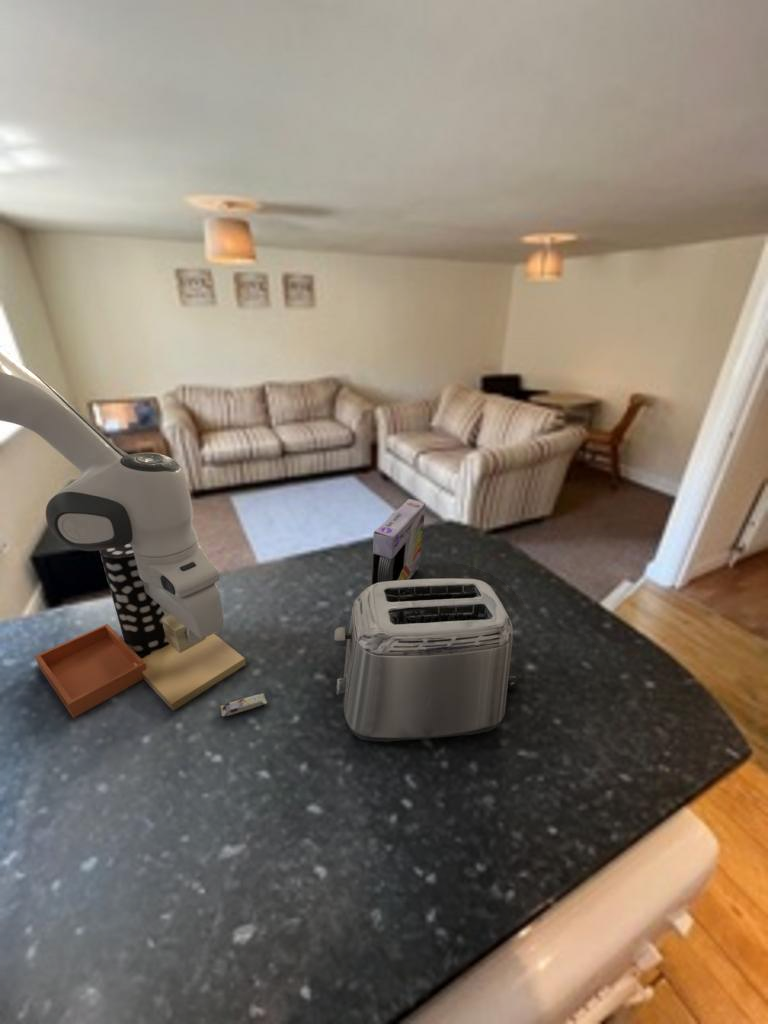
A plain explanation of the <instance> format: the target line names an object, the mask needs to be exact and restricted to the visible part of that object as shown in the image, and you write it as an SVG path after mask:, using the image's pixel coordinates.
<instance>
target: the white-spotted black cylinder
mask: <svg viewBox="0 0 768 1024" xmlns="http://www.w3.org/2000/svg"><path fill="white" fill-rule="evenodd" d="M99 554H100V558H101V561H102V566H103V568H104V573H105V576H106V580H107V583H108V584H107V585H108V587H109V591H110V593H111V598H112V601H113V606H114V609H115V614H116V615H117V620H118V624H119V628H120V631H121V635H122V639H123V640H124V641H125V643H126V644H127V645H128V646H129V647H130V648H131V649H132V650H133V651H134V652H135V653H136V654H137V655H138V656H139V657H140V656H141V657H143V656H144V657H146V656H148V655H150V654H152V653H154V652H156V651H157V650H159V649H161V648H163V647H165V646H167V645H169V643H168V642H167V641H166V636H165V632H164V628H163V623H162V619H163V618H165V617H166V616H165V614H164V612H163V610H162V608H161V606H160V605H159V604H158V603H157V602H156V601H155V600H153V599H152V598H151V597H150V596H149V595H147V594H146V592H145V590H144V585H143V580H142V579H141V578H140V577H139V573H138V569H137V565H136V561H135V556H134V552H133V548H132V546H131V545H130V544H127V545H124V546H121V547H116V548H111V549H105V550H99Z"/></svg>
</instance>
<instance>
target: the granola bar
mask: <svg viewBox="0 0 768 1024" xmlns="http://www.w3.org/2000/svg"><path fill="white" fill-rule="evenodd" d="M266 704H268V701H267V699H266V696H265V693H264V692H263V693H260V694H259V693H257V694H255V695H251V696H247V697H244V698H240V699H238V700H235V701H231V702H228V703H225V704H222V705H220V706H219V707H220V711H221V717H228V716H229V717H230V716H232V715H235V714H239V713H242V712H246V711H249V710H252V709H255V708H258V707H261V706H262V705H266Z"/></svg>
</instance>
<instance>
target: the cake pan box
mask: <svg viewBox="0 0 768 1024" xmlns="http://www.w3.org/2000/svg"><path fill="white" fill-rule="evenodd" d="M426 505H427V504H426V502H422V501H419V500H414V499H411V498H408V499H407V500H406V501H405V502H404V503H403V504H402V505H401V506H400V507H399V508H398V509H395V511H394V512H392V513H391V514H390V515H389V516H388V517H387V519H386V520H385V521H384V522H383V523H381V525H380V526H379V527H378V528H376V529H374V531H373V541H372V542H373V543H372V565H371V566H372V567H371V569H372V570H371V586H372V585H374V584H376V583H379V582H387V581H398V580H411V578H412V577H413V576H414V574H415V573H416V572H417V570H418V569H419V568H420V563H421V554H422V545H423V544H422V543H423V532H424V524H425V517H426V516H425V515H426V514H425V513H426ZM418 565H419V566H418ZM417 566H418V568H417ZM416 568H417V569H416ZM414 571H415V572H414ZM413 572H414V573H413Z"/></svg>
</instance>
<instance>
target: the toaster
mask: <svg viewBox="0 0 768 1024" xmlns="http://www.w3.org/2000/svg"><path fill="white" fill-rule="evenodd" d="M513 640H514V630H513V624H512V621H511V618H510V617H509V615H508V612H507V610H506V608H505V607H504V605H503V603H502V602H501V600H500V598H499V597H498V595H497V593H496V592H495V591H494V589H493V588H492V587H491V585H489V584H488V583H487V582H485V581H483V580H481V579H475V578H417V579H410V580H398V581H387V582H379V583H376V584H374V585H372V584H371V585H369V586H368V587H366V588H365V589H364V590H362V591H361V592H360V593H359V594H358V595H357V597H356V598H355V600H354V601H353V605H352V609H351V615H350V622H349V629H348V632H347V629H346V626H339V627H336V629H335V630H334V638H333V641H334V644H335V645H336V646H337V647H345V646H346V651H345V660H344V668H343V669H344V670H343V677H337V679H336V687H335V688H336V689H335V692H336V693H335V694H336V695H337V696H342V697H343V713H344V718H345V721H346V723H347V725H348V728H349V730H350V732H351V733H352V734H353V735H354V736H355V737H356V738H358V739H360V740H362V741H366V742H375V743H377V742H378V743H390V742H391V743H392V742H396V741H409V740H411V741H412V740H427V739H439V738H440V739H441V738H450V737H457V736H473V735H478V734H482V733H489V732H491V731H492V730H495V729H496V728H497V727H498V726H499V725H500V724H501V723H502V721H503V719H504V717H505V714H506V705H507V698H508V697H507V696H508V691H511V687H512V686H514V685H516V682H515V681H512V679H516V678H517V676H515V675H511V676H510V669H511V668H510V667H511V659H512V650H513V649H512V648H513ZM346 641H347V643H346ZM511 681H512V682H511Z"/></svg>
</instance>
